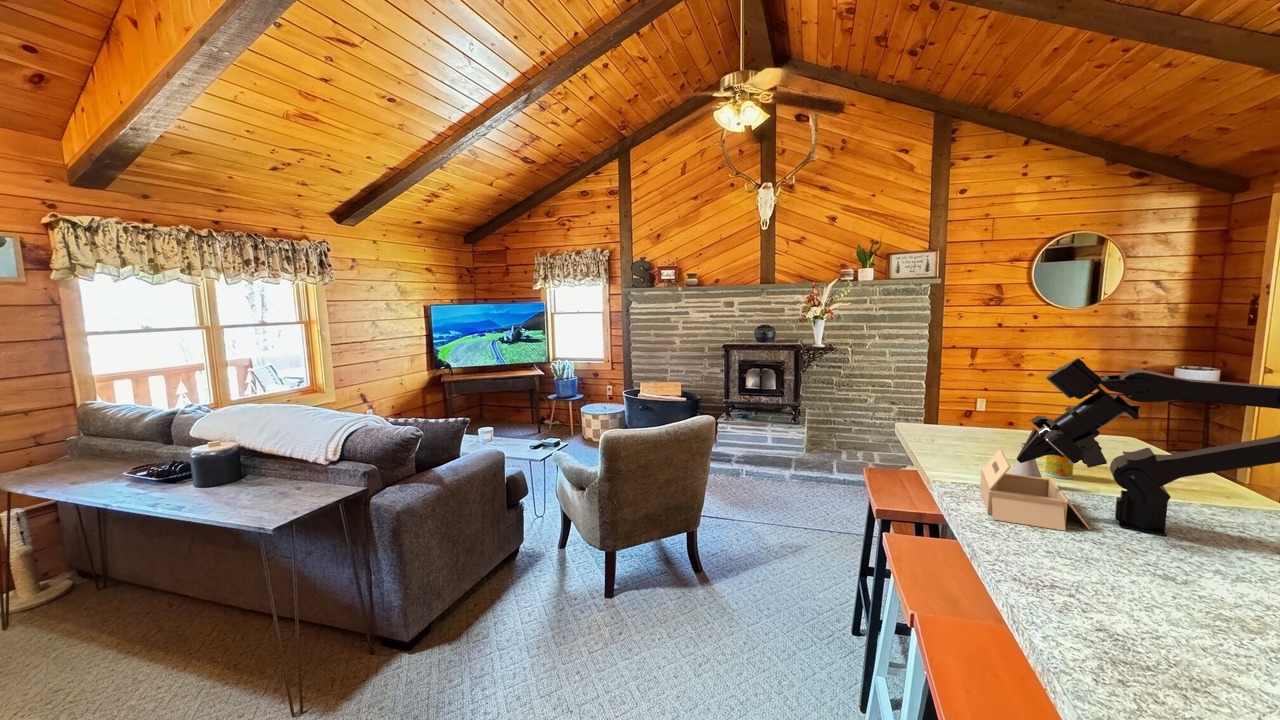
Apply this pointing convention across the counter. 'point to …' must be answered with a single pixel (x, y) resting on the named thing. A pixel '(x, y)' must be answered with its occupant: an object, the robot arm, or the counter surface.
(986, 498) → the carton
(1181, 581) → the counter surface
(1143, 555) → the counter surface
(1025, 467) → the flask
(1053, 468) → the supplement bottle
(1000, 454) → the far flap
